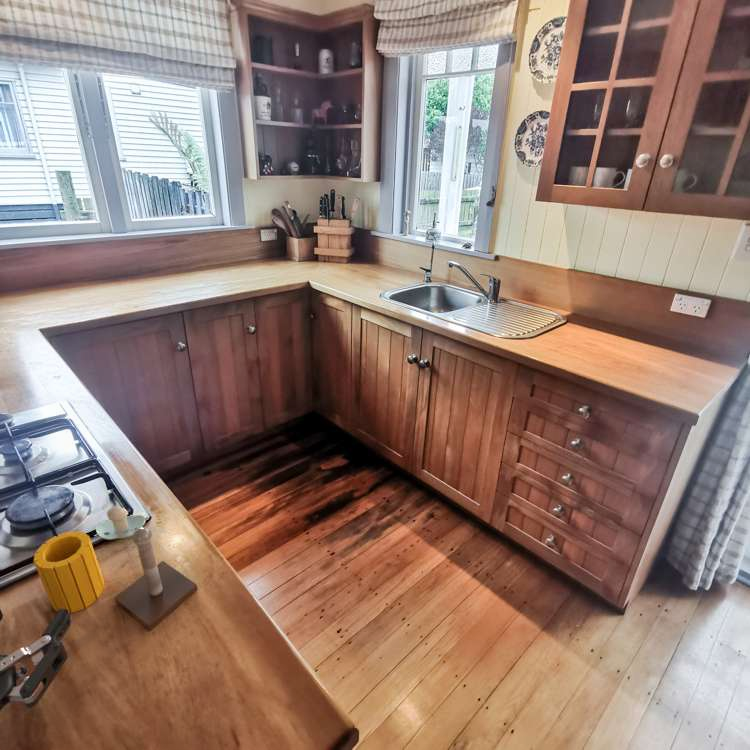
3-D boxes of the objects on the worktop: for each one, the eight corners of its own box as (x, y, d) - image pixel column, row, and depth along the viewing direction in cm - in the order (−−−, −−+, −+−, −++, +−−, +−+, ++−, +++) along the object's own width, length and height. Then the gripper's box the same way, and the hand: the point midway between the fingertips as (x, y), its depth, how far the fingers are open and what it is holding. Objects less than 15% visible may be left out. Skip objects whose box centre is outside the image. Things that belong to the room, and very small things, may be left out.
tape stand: (115, 603, 67) (94, 535, 61) (164, 565, 73) (148, 501, 67) (149, 631, 63) (130, 563, 58) (198, 589, 70) (184, 523, 64)
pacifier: (106, 521, 81) (96, 546, 76) (98, 493, 79) (87, 517, 74) (151, 515, 83) (144, 539, 78) (144, 487, 80) (137, 510, 75)
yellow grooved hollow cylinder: (43, 598, 67) (24, 554, 63) (88, 567, 72) (73, 524, 68) (67, 621, 64) (49, 576, 60) (113, 587, 69) (99, 543, 65)
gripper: (-20, 745, 43) (81, 593, 57) (-176, 742, 43) (-36, 590, 57) (6, 786, 46) (95, 632, 61) (-138, 782, 46) (-15, 629, 60)
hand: (32, 611), depth 59 cm, fingers open, 8 cm apart
